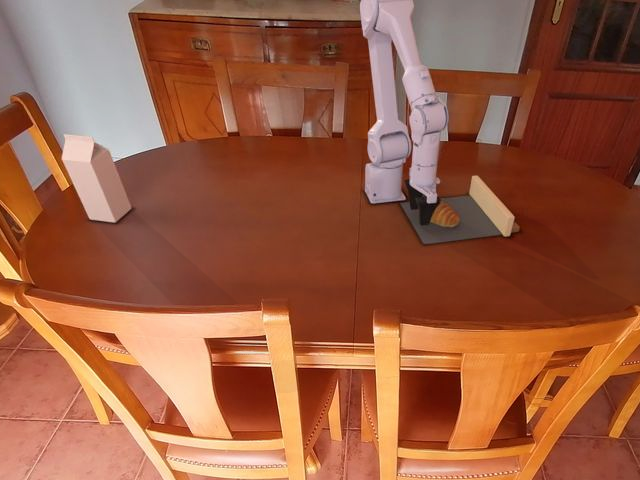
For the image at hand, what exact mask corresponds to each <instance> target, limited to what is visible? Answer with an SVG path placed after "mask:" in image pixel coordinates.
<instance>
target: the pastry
mask: <svg viewBox="0 0 640 480" xmlns="http://www.w3.org/2000/svg"><path fill="white" fill-rule="evenodd" d="M459 221H460V217H459V216H458V215H457V212H455V211H454V209H453V208H451V207H450V206H449V205H448V204H445V203H444V202H443V201H441V203H440V204H439V205H438V207H437V208H436V209H435V211H434V213H433V215H432V218H431V220H430V222H432V223H435V224H437V225H440V226H443V227H454V226H455V225H457V224H458V222H459Z"/></svg>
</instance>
